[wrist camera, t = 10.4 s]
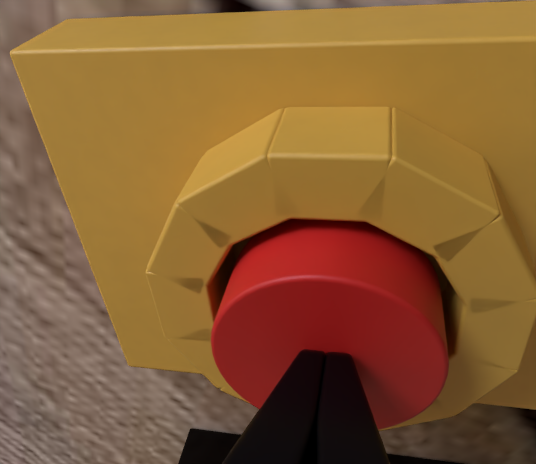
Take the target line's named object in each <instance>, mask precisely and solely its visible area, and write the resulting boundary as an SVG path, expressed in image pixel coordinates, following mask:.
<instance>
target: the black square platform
mask: <svg viewBox="0 0 536 464" xmlns="http://www.w3.org/2000/svg"><path fill="white" fill-rule="evenodd" d="M240 437H241V435H237V434H230V433H222V432H214V431H206V430H199V429H190V431H189V434H188V437H187V440H186V443H185V446H184V449H183V451H182V454H181V457H180V460H179V463H178V464H222V462H223V461H224V460H225V458H226V457H227V455H228V454H229V452H230V451H231V449H232V448H233V447H234V445H235V444H236V442H237V441H238V439H239V438H240ZM387 456H388V459H389V462H390V464H462V463H454V462H446V461H438V460H431V459H423V458H415V457H408V456H400V455H392V454H387Z"/></svg>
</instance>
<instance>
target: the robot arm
mask: <svg viewBox="0 0 536 464" xmlns="http://www.w3.org/2000/svg"><path fill="white" fill-rule="evenodd" d="M222 464H390V462H389V459H388V456H387V454H386V451H385V448H384V445H383V442H382V439H381V437H380V434H379V431H378V428H377V425H376V422H375V420H374V417H373V414H372V411H371V408H370V405H369V403H368V400H367V397H366V394H365V391H364V388H363V386H362V383H361V380H360V377H359V374H358V371H357V369H356V366H355V363H354V360H353V358H352V356H351V355H350V354H348V353H340V352H328V353H327V354H325V352H323V351H319V350H308V349H304V350H301V351H300V352H299V353H298V355H297V356H296V358H295V359H294V360H293V362H292V363H291V365H290V366H289V368H288V369H287V370H286V372H285V373H284V375H283V376H282V378H281V379H280V381H279V382H278V383H277V385H276V386H275V388H274V389H273V391H272V392H271V393H270V395H269V396H268V398H267V399H266V401H265V402H264V403H263V405H262V406H261V408H260V409H259V411H258V412H257V414H256V415H255V416H254V418H253V419H252V421H251V422H250V424H249V425H248V426H247V428H246V429H245V431H244V432H243V434H242V435H241V437H240V438H239V439H238V441H237V442H236V444H235V445H234V447H233V448H232V449H231V451H230V452H229V454H228V455H227V457H226V458H225V460H224V461H223V462H222Z"/></svg>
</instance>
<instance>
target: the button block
mask: <svg viewBox="0 0 536 464" xmlns="http://www.w3.org/2000/svg"><path fill="white" fill-rule="evenodd" d="M10 56H11V59H12V61H13V64H14V67H15V69H16V72H17V75H18V77H19V80H20V82H21V85H22V88H23V90H24V93H25V96H26V98H27V101H28V103H29V106H30V109H31V111H32V114H33V117H34V119H35V122H36V124H37V127H38V130H39V132H40V135H41V138H42V140H43V143H44V145H45V148H46V151H47V153H48V156H49V159H50V161H51V164H52V166H53V169H54V172H55V174H56V177H57V180H58V182H59V185H60V187H61V190H62V193H63V195H64V198H65V201H66V203H67V206H68V208H69V211H70V214H71V216H72V219H73V222H74V224H75V227H76V229H77V232H78V235H79V237H80V240H81V243H82V245H83V248H84V250H85V253H86V256H87V258H88V261H89V264H90V266H91V269H92V271H93V274H94V277H95V279H96V282H97V285H98V287H99V290H100V292H101V295H102V298H103V300H104V303H105V306H106V308H107V311H108V313H109V316H110V319H111V321H112V324H113V327H114V329H115V332H116V334H117V337H118V340H119V342H120V345H121V348H122V350H123V353H124V355H125V358H126V361H127V363H128V365H129V366H132V367H141V368H151V369H160V370H169V371H179V372H188V373H198V374H203V375H204V376H205V377H206V378H207V379H208V380H209V381H210V382H211V383H212V384H213V385H214V386H215V387H217V388H220V390H221V391H223V392H225V393H227V394H230V395H232V396H234V397H236V398H239V399H241V400H243V401H245V402H248V401H246V400H245V399H244V398H242V397H241V396H240V395H239V394H238V393H237V392H235V391H234V390H233V389H232V387H231V386H230V385H229V384H228V383H227V382H226V380H225V379H224V378H223V376H222V375H221V373H220V371H219V369H218V367H217V365H216V363H215V360H214V357H213V354H212V347H211V331H212V327H213V324H214V320H215V318H216V315H217V312H218V309H219V307H220V304H221V301H222V298H223V296H224V293H225V290H226V287H227V285H228V282H229V279H230V276H231V274H232V271H233V268H234V265H235V263H236V260H237V258H238V256H239V254H240V252H241V251H242V250H243V248H244V247H245V245H246V244H247V243H248V242H249V241H250V240H251V239H252V238H253V237H254V236H255V235H257V234H258V233H260V232H262V231H265V230H267V229H269V228H271V227H274V226H276V225H278V224H280V223H282V222H285V221H287V220H289V219H308V220H332V221H356V222H367V223H369V224H371V225H373V226H375V227H377V228H379V229H381V230H383V231H385V232H387V233H389V234H391V235H393V236H395V237H397V238H399V239H401V240H403V241H405V242H406V243H408V244H410V245H412V246H414V247H416V248H418V249H420V250H421V251H422V252H423V253H424V254H425V255H426V257H427V258H428V259H429V261H430V262H431V264H432V265H433V267H434V269H435V271H436V273H437V276H438V279H439V283H440V288H441V297H442V305H443V314H444V323H445V331H446V340H447V349H448V357H449V371H448V376H447V379H446V382H445V385H444V387H443V389H442V391H441V393H440V394H439V396H438V397H437V398H436V400H435V401H434V402H433V403H432V404H431V405H430V406H429V407H428V408H427V409H426V410H424V411H423V412H422V413H420V414H418V415H417V416H415V417H414V418H412V419H410V420H407V421H405V422H403V423H400V424H398V425H395V426H392V427H388V428H384V429H380V430H378V431H383V430H388V429H393V428H398V427H403V426H408V425H414V424H419V423H424V422H429V421H434V420H439V419H444V418H450V417H453V416H456V415H458V414H459V413H460V412H462V411H463V410H465V409H466V408H468V407H469V406H471V405H472V404H473V403H479V404H488V405H498V406H507V407H517V408H526V409H535V410H536V0H535V1H510V2H485V3H460V4H435V5H410V6H384V7H359V8H334V9H309V10H284V11H259V12H234V13H209V14H183V15H158V16H133V17H108V18H83V19H67V20H65V21H63V22H61V23H60V24H58V25H56V26H54V27H52V28H51V29H49V30H47V31H45V32H43V33H42V34H40V35H38V36H36V37H34V38H33V39H31V40H29V41H27V42H25V43H24V44H22V45H20V46H18V47H16V48H15V49H13V50H11V51H10ZM248 403H249V402H248Z"/></svg>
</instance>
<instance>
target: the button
mask: <svg viewBox="0 0 536 464" xmlns="http://www.w3.org/2000/svg"><path fill="white" fill-rule="evenodd" d="M211 347H212V354H213V357H214V360H215V363H216V365H217V367H218V369H219V371H220V373H221V375H222V376H223V378H224V379H225V380H226V382H227V383H228V384H229V385H230V386H231V387H232V389H233V390H234V391H235V392H237V393H238V394H239V395H240V396H241V397H242V398H244V399H245V400H246V401H248V402H249V403H250V404H252V405H253V406H255V407H257V408H258V409H260V408H261V406H262V405H263V403H264V402H265V401H266V399H267V398H268V396H269V395H270V393H271V392H272V391H273V389H274V388H275V386H276V385H277V383H278V382H279V381H280V379H281V378H282V376H283V375H284V373H285V372H286V370H287V369H288V368H289V366H290V365H291V363H292V362H293V360H294V359H295V358H296V356H297V355H298V353H299V352H300V351H301V350H304V349H308V350H319V351H323V352H325V354H327V353H328V352H340V353H348V354H350V355H351V356H352V358H353V360H354V363H355V366H356V369H357V371H358V374H359V377H360V380H361V383H362V386H363V388H364V391H365V394H366V397H367V400H368V403H369V405H370V408H371V411H372V414H373V417H374V420H375V422H376V425H377V428H378V430H380V429H384V428H388V427H392V426H395V425H398V424H400V423H403V422H405V421H407V420H410V419H412V418H414V417H415V416H417V415H418V414H420V413H422V412H423V411H424V410H426V409H427V408H428V407H429V406H430V405H431V404H432V403H433V402H434V401H435V400H436V398H437V397H438V396H439V394H440V393H441V391H442V389H443V387H444V385H445V382H446V379H447V376H448V371H449V357H448V349H447V340H446V331H445V323H444V314H443V305H442V297H441V288H440V283H439V279H438V276H437V273H436V271H435V269H434V267H433V265H432V264H431V262H430V261H429V259H428V258H427V257H426V255H425V254H424V253H423V252H422V251H421V250H420V249H418V248H416V247H414V246H412V245H410V244H408V243H406V242H405V241H403V240H401V239H399V238H397V237H395V236H393V235H391V234H389V233H387V232H385V231H383V230H381V229H379V228H377V227H375V226H373V225H371V224H369V223H367V222H356V221H332V220H308V219H289V220H287V221H285V222H282V223H280V224H278V225H276V226H274V227H271V228H269V229H267V230H265V231H262V232H260V233H258V234H257V235H255V236H254V237H253V238H252V239H251V240H250V241H249V242H248V243H247V244H246V245H245V247H244V248H243V250H242V251H241V252H240V254H239V256H238V258H237V260H236V263H235V265H234V268H233V271H232V274H231V276H230V279H229V282H228V285H227V287H226V290H225V293H224V296H223V298H222V301H221V304H220V307H219V309H218V312H217V315H216V318H215V320H214V324H213V327H212V331H211Z"/></svg>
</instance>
